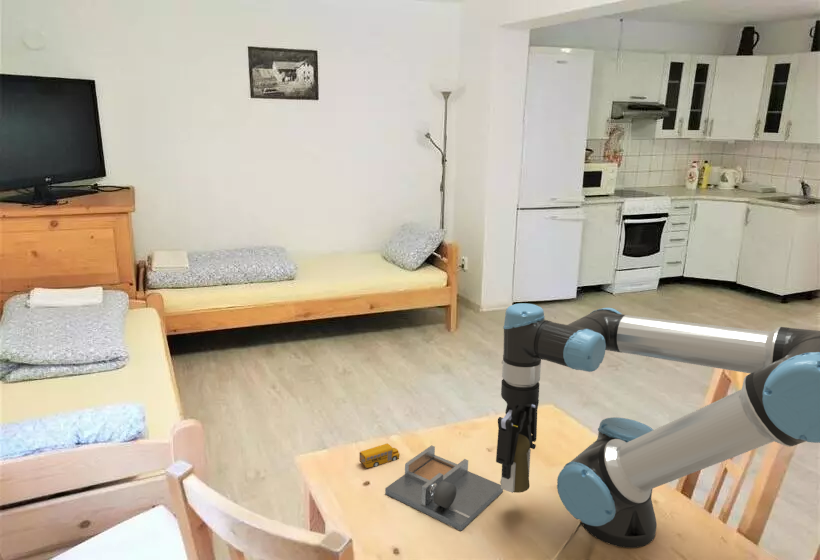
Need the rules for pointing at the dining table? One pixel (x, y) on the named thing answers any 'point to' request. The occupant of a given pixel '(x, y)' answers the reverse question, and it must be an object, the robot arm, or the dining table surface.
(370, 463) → the toy bus
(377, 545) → the dining table surface
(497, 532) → the dining table surface
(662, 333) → the robot arm
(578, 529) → the dining table surface
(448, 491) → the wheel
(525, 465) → the olive brown pawn
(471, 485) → the plate
